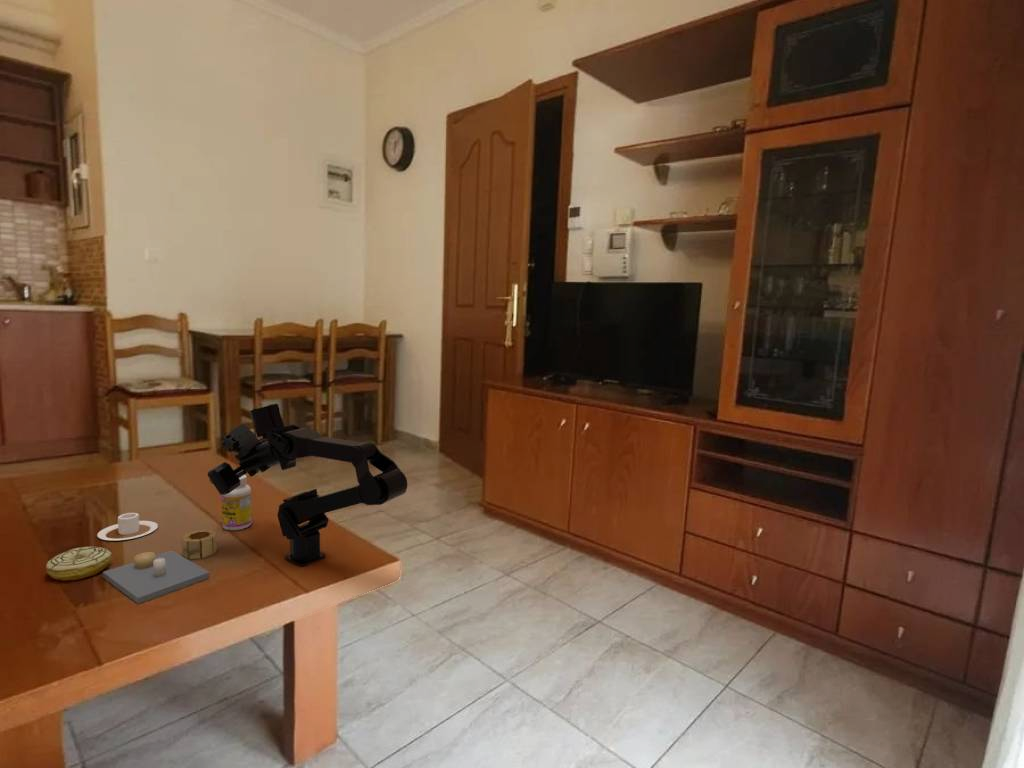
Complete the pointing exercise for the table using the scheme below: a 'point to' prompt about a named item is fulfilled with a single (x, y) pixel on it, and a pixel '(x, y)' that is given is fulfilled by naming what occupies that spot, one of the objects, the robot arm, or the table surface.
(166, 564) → the carrier board
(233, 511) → the supplement bottle
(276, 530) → the table surface
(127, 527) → the candle holder
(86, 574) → the decorated donut
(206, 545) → the octagonal wooden tube
